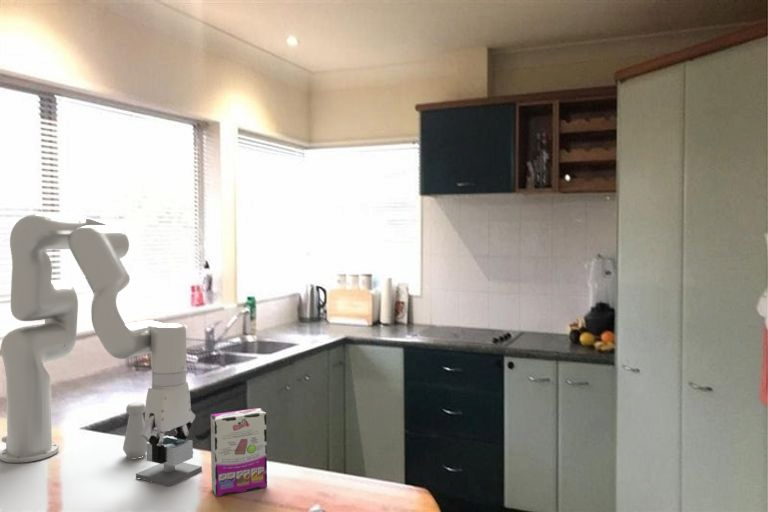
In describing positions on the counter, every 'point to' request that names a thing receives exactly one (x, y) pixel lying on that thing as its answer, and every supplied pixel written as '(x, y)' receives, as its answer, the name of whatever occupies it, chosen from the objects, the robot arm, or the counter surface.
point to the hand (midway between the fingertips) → (169, 456)
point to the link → (174, 451)
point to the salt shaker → (135, 431)
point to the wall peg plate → (169, 473)
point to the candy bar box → (238, 451)
